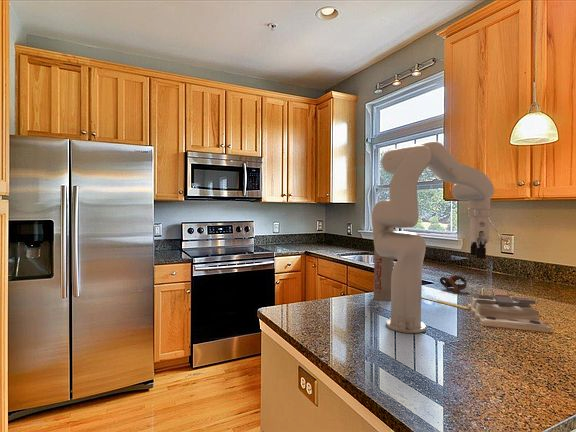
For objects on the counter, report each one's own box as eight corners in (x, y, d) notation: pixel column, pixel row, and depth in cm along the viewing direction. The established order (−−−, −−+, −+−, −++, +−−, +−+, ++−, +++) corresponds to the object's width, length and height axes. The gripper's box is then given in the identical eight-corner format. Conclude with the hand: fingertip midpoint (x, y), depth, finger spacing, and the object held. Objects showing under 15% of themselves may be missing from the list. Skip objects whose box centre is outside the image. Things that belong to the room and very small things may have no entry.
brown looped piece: (463, 289, 169) (468, 277, 164) (462, 301, 162) (467, 289, 157) (438, 281, 173) (442, 269, 169) (436, 292, 166) (440, 280, 162)
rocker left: (493, 299, 123) (493, 295, 123) (478, 298, 124) (478, 294, 124) (487, 299, 130) (487, 295, 130) (473, 298, 132) (473, 294, 132)
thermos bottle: (380, 301, 143) (382, 235, 143) (369, 296, 151) (371, 234, 150) (396, 299, 146) (397, 235, 146) (384, 295, 154) (385, 233, 153)
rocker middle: (513, 306, 121) (514, 302, 121) (498, 304, 122) (498, 301, 122) (506, 296, 128) (507, 292, 128) (492, 295, 130) (492, 291, 130)
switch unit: (551, 332, 109) (551, 315, 109) (481, 325, 115) (482, 309, 115) (525, 312, 130) (525, 298, 130) (467, 307, 136) (468, 294, 136)
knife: (404, 290, 162) (398, 290, 159) (473, 307, 135) (467, 307, 132) (404, 293, 162) (398, 293, 159) (473, 310, 135) (467, 310, 132)
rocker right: (535, 304, 119) (535, 299, 119) (519, 302, 120) (519, 298, 120) (526, 301, 126) (526, 297, 127) (511, 300, 128) (511, 296, 128)
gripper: (496, 214, 125) (494, 260, 125) (484, 214, 142) (482, 254, 142) (473, 213, 127) (472, 259, 128) (464, 213, 144) (462, 253, 144)
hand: (477, 256), depth 135 cm, fingers open, 9 cm apart
